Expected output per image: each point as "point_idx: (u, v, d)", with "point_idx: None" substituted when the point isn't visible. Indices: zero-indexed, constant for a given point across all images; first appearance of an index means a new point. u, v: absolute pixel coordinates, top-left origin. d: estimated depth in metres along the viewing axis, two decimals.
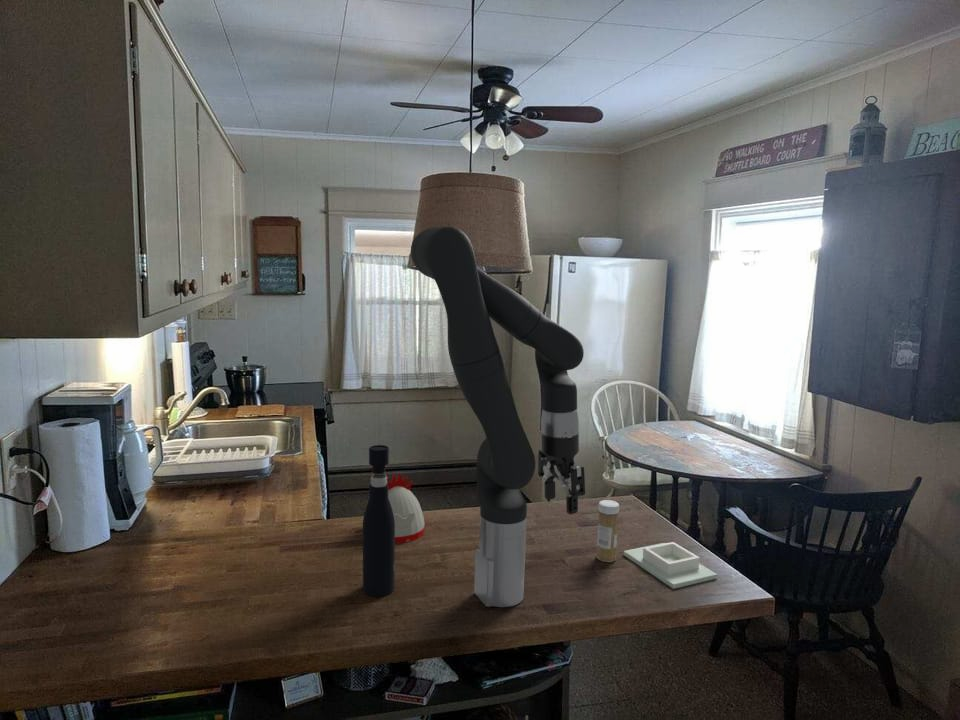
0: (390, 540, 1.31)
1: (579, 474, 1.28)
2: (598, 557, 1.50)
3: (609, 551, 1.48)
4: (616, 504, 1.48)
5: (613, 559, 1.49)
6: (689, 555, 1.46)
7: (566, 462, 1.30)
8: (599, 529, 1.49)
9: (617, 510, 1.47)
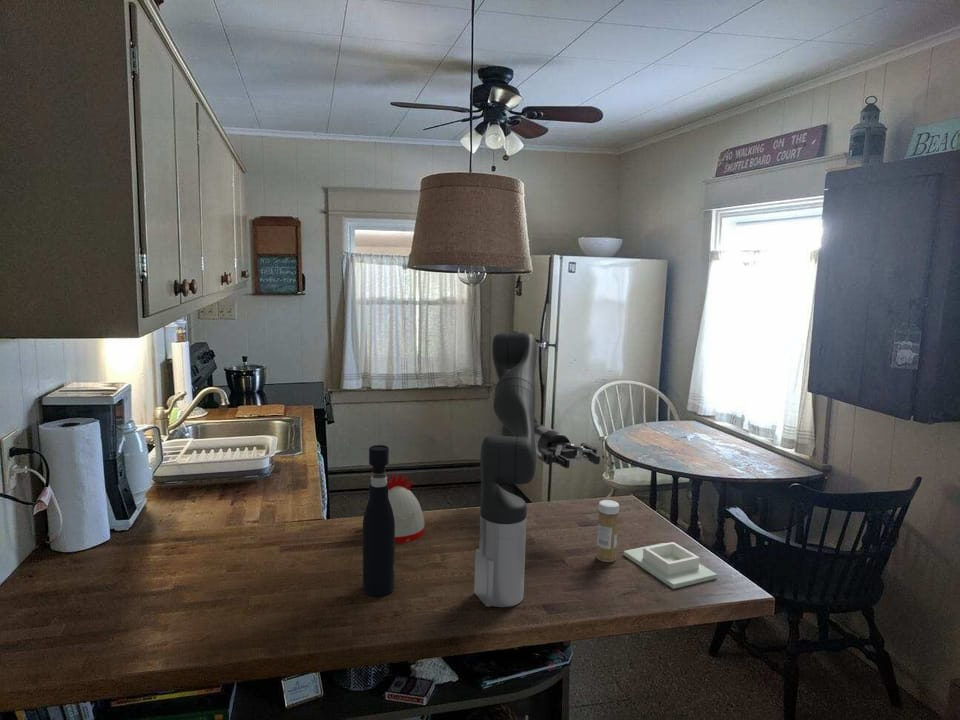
0: (390, 540, 1.31)
1: None
2: (598, 557, 1.50)
3: (609, 551, 1.48)
4: (616, 504, 1.48)
5: (613, 559, 1.49)
6: (689, 555, 1.46)
7: None
8: (599, 529, 1.49)
9: (617, 510, 1.47)
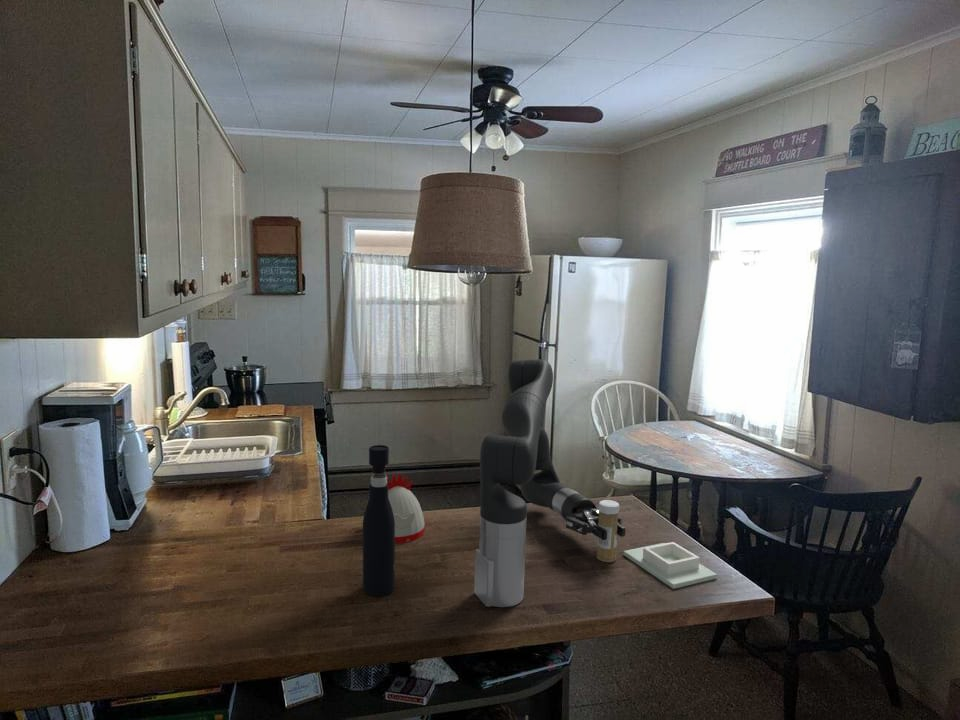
0: (390, 540, 1.31)
1: None
2: (598, 557, 1.50)
3: (609, 551, 1.48)
4: (616, 504, 1.48)
5: (613, 559, 1.49)
6: (689, 555, 1.46)
7: None
8: None
9: (617, 510, 1.47)
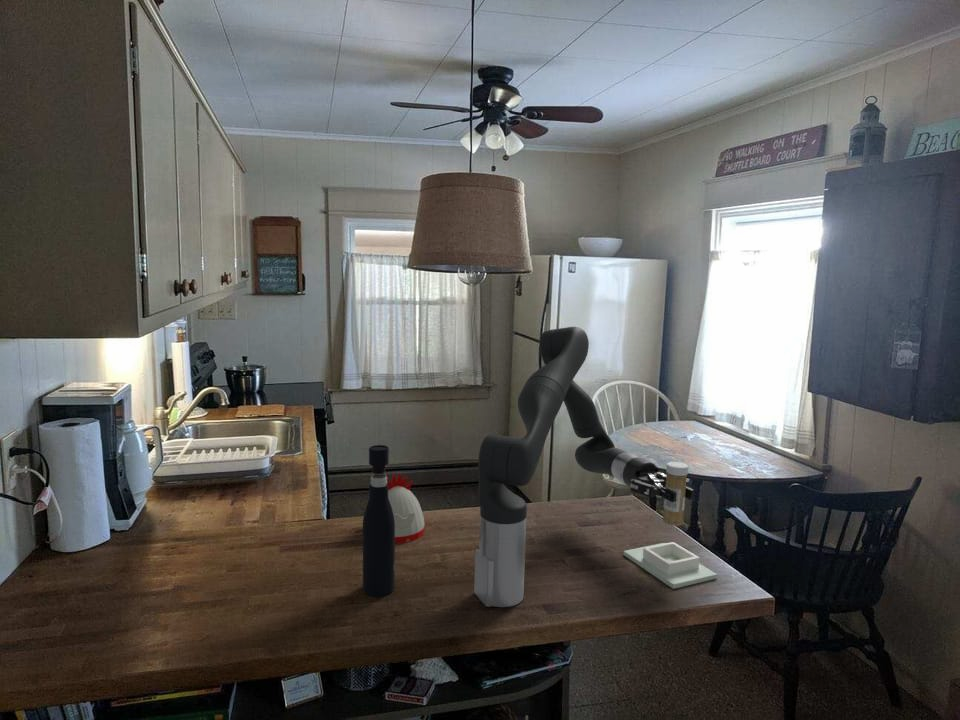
0: (390, 540, 1.31)
1: None
2: (665, 520, 1.45)
3: (678, 514, 1.43)
4: (685, 465, 1.43)
5: (681, 522, 1.44)
6: (689, 555, 1.46)
7: None
8: None
9: (686, 471, 1.42)
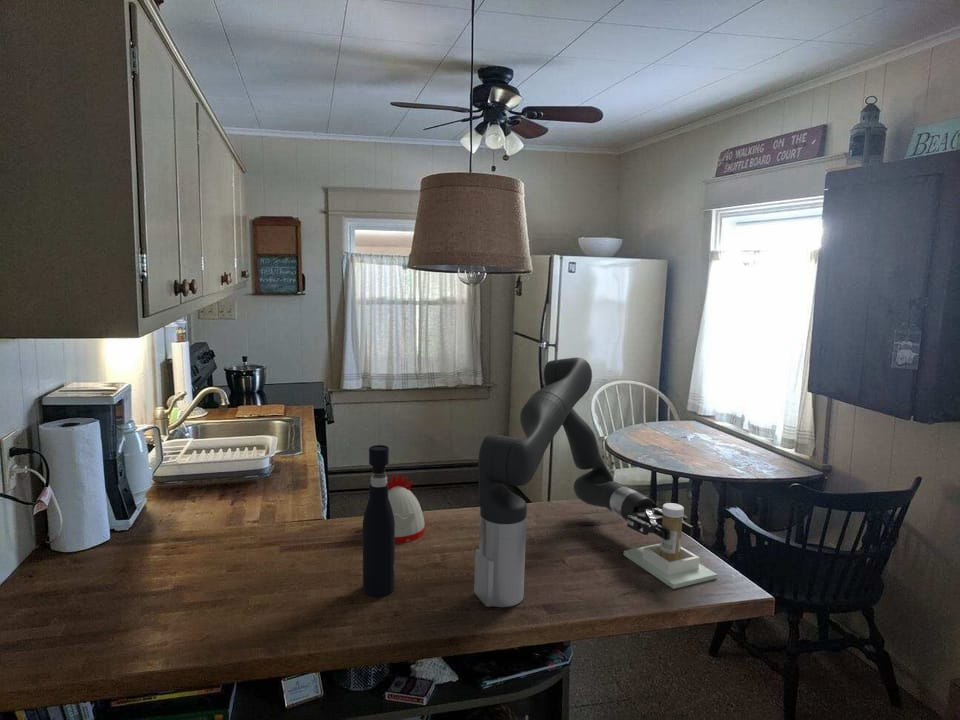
0: (390, 540, 1.31)
1: None
2: None
3: (674, 555, 1.45)
4: (681, 507, 1.44)
5: None
6: (689, 555, 1.46)
7: None
8: None
9: (682, 513, 1.44)
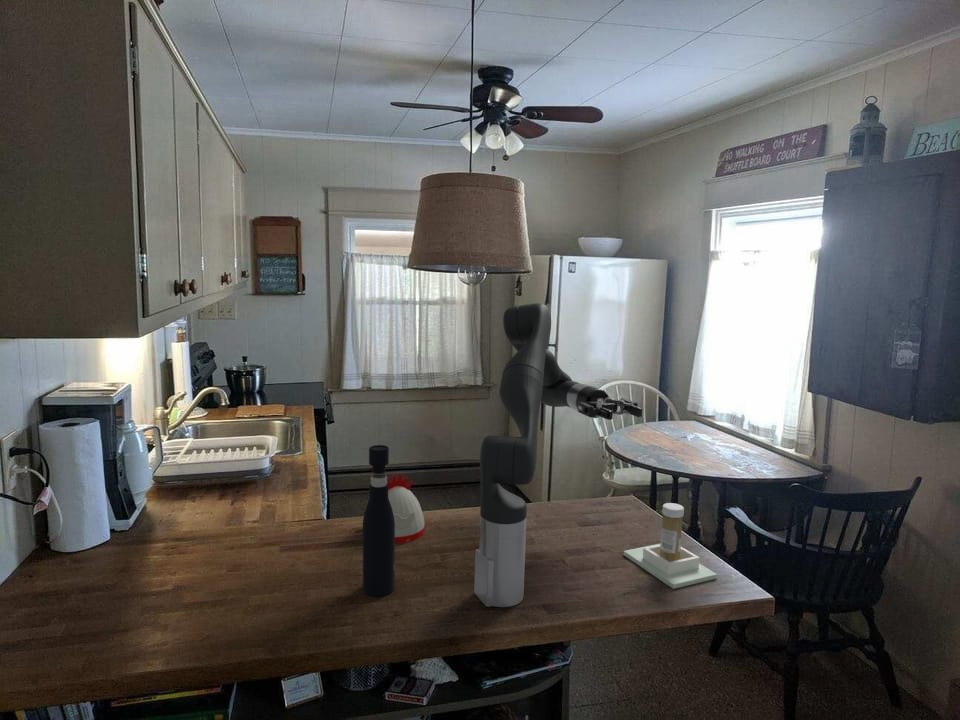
0: (390, 540, 1.31)
1: None
2: None
3: (674, 555, 1.45)
4: (681, 507, 1.44)
5: None
6: (689, 555, 1.46)
7: None
8: (663, 533, 1.45)
9: (682, 513, 1.44)
